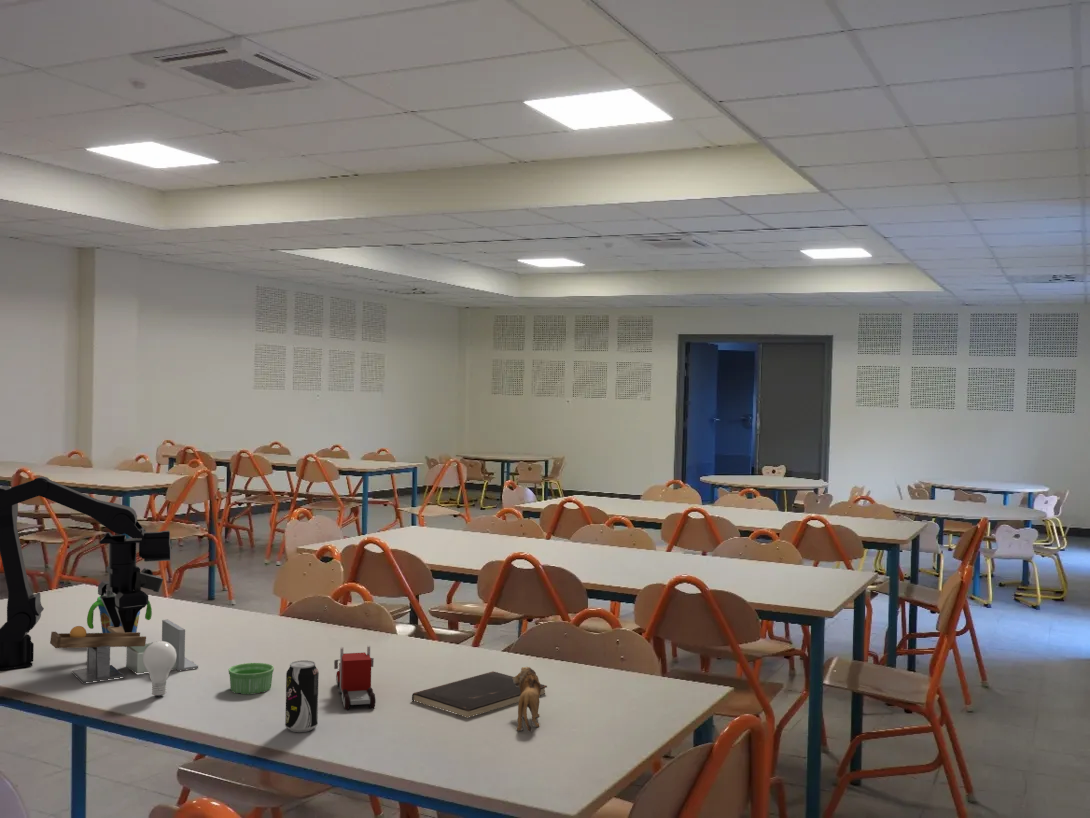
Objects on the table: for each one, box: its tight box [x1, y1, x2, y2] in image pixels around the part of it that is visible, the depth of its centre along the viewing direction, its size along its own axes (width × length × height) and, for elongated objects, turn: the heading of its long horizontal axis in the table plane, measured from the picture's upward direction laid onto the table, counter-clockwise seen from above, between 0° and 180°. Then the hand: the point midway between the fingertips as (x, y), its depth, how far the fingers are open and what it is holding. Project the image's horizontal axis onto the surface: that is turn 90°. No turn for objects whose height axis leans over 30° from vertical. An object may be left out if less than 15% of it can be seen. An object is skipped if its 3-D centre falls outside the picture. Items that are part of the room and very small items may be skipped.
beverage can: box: [284, 660, 320, 733], centre depth 184 cm, size 6×6×12 cm
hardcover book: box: [411, 670, 548, 718], centre depth 206 cm, size 16×23×2 cm
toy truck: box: [333, 645, 377, 711], centre depth 205 cm, size 8×19×10 cm, turn 17°
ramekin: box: [228, 662, 275, 695], centre depth 208 cm, size 9×9×4 cm
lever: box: [49, 626, 147, 649], centre depth 220 cm, size 18×19×3 cm
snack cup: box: [86, 596, 153, 633], centre depth 248 cm, size 16×10×10 cm
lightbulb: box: [143, 640, 177, 697], centre depth 201 cm, size 6×6×11 cm
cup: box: [125, 642, 176, 673], centre depth 222 cm, size 8×8×4 cm
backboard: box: [161, 619, 199, 672], centre depth 226 cm, size 4×12×9 cm, turn 38°
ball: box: [69, 625, 87, 638], centre depth 212 cm, size 3×3×3 cm
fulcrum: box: [71, 645, 125, 684], centre depth 215 cm, size 8×10×7 cm
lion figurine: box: [512, 666, 542, 733], centre depth 190 cm, size 15×5×9 cm, turn 6°
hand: (122, 631), depth 228 cm, fingers open, 9 cm apart
